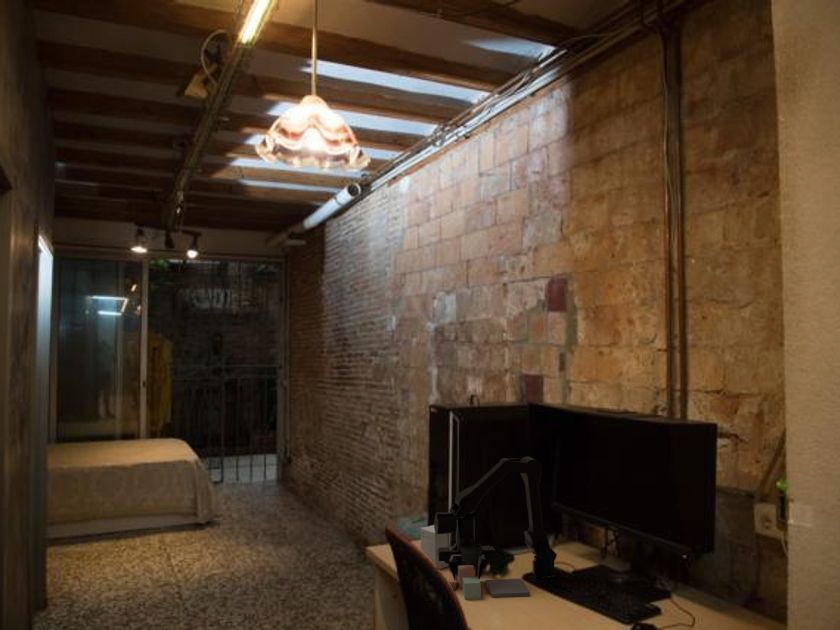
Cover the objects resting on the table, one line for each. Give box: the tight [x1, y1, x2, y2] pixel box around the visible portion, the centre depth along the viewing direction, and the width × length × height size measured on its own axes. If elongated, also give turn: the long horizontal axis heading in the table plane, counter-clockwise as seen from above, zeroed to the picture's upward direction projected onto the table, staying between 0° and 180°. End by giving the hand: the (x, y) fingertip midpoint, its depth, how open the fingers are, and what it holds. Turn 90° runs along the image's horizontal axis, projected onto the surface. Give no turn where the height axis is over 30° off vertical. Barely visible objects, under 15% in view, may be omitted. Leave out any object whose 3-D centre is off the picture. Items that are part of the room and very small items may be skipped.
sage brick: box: [461, 576, 482, 601], centre depth 202 cm, size 5×5×5 cm
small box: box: [420, 524, 449, 570], centre depth 231 cm, size 8×6×13 cm
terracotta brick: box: [457, 564, 476, 587], centre depth 213 cm, size 5×5×5 cm
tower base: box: [484, 577, 531, 599], centre depth 207 cm, size 12×12×1 cm
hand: (466, 579), depth 213 cm, fingers open, 8 cm apart
